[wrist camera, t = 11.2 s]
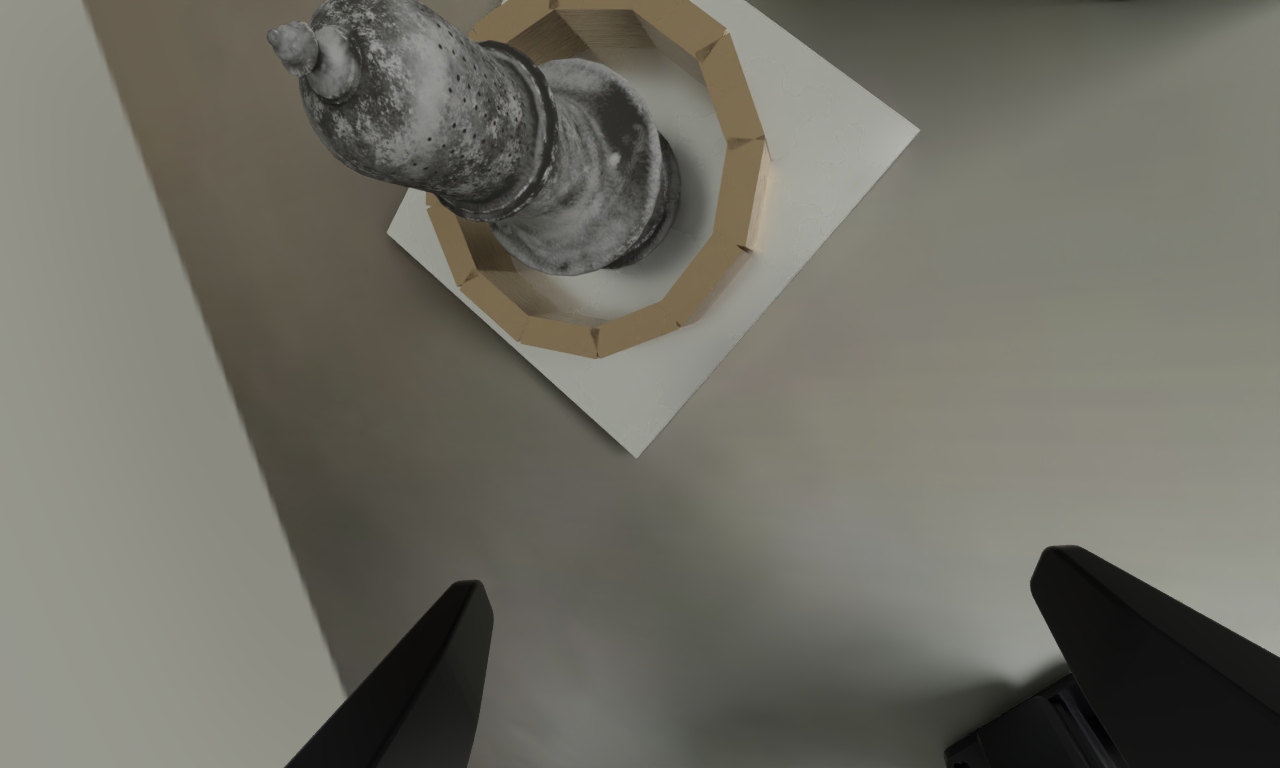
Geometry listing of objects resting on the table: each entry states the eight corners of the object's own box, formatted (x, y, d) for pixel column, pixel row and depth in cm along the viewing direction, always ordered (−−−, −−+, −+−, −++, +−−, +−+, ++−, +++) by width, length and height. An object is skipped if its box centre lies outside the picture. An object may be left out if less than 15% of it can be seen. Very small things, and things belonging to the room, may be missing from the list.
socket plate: (912, 141, 16) (942, 100, 12) (645, 449, 20) (613, 482, 17) (583, -103, 17) (528, -201, 14) (407, 235, 22) (333, 226, 19)
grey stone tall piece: (512, 236, 19) (101, 169, 8) (569, 75, 17) (139, -307, 6) (644, 305, 18) (383, 341, 7) (720, 141, 16) (533, -175, 5)
